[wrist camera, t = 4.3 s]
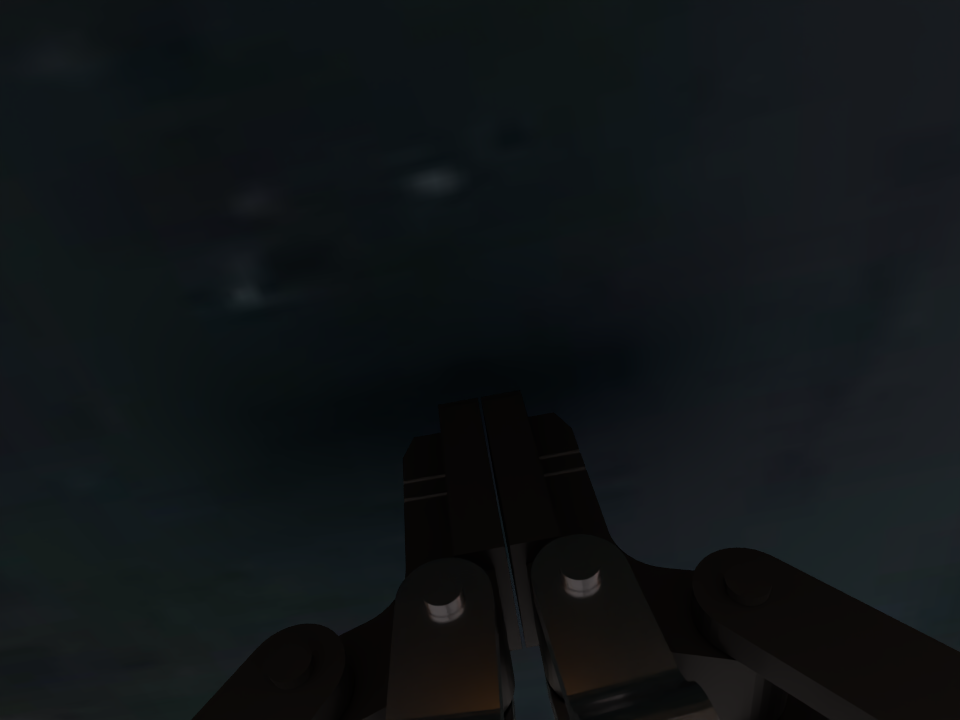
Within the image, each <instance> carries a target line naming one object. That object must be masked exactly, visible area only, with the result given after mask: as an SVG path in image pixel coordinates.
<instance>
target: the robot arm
mask: <svg viewBox="0 0 960 720" xmlns="http://www.w3.org/2000/svg"><path fill="white" fill-rule="evenodd" d="M481 401H482V407H483V413H484V419H485V425H486V431H487V437H488V443H489V449H490V455H491V461H492V467H493V472H494V478H495V484H496V489H497V495H498V500H499V505H500V511H501V516H502V521H503V526H504V532H505V537H506V542H507V548H508V553H509V558H510V564H511V569H512V574H513V580H514V585H515V590H516V595H517V601H518V606H519V611H520V617H521V622H522V627H523V633H524V638H525V643H526V648H527V647H532V646H538V645H539V646H540V651H541V656H542V661H543V666H544V671H545V677H546V684H547V690H548V696H549V699H550V703H551V706H552V710H553V713H554V717H555V720H960V652H959V651H957V650H955V649H953V648H951V647H949V646H947V645H945V644H943V643H941V642H939V641H937V640H935V639H933V638H931V637H929V636H927V635H925V634H923V633H922V632H920V631H918V630H916V629H914V628H912V627H910V626H908V625H906V624H904V623H902V622H900V621H898V620H896V619H894V618H892V617H890V616H888V615H886V614H884V613H882V612H881V611H879V610H877V609H875V608H873V607H871V606H869V605H867V604H865V603H863V602H861V601H859V600H857V599H855V598H853V597H851V596H849V595H847V594H845V593H843V592H841V591H839V590H838V589H836V588H834V587H832V586H830V585H828V584H826V583H824V582H822V581H820V580H818V579H816V578H814V577H812V576H810V575H808V574H806V573H804V572H802V571H800V570H798V569H797V568H795V567H793V566H791V565H789V564H787V563H785V562H783V561H781V560H779V559H777V558H775V557H773V556H771V555H769V554H766V553H764V552H761V551H757V550H754V549H748V548H727V549H722V550H719V551H716V552H714V553H711V554H710V555H708V556H706V557H705V558H704V559H703V560H702V561H701V562H700V563H699V564H698V566H697V567H696V569H695V571H691V570H681V569H670V568H662V567H655V566H651V565H648V564H644V563H642V562H640V561H637V560H635V559H633V558H632V557H630V556H628V555H627V554H626V553H624V552H623V551H622V550H621V549H620V548H619V547H618V546H617V545H616V544H615V542H614V541H613V540H612V538H611V536H610V534H609V531H608V529H607V526H606V523H605V520H604V517H603V515H602V512H601V509H600V506H599V503H598V501H597V498H596V495H595V492H594V490H593V487H592V484H591V481H590V478H589V476H588V473H587V470H586V469H585V464H584V462H583V459H582V456H581V453H580V452H579V448H578V445H577V442H576V439H575V436H574V434H573V431H572V428H571V427H569V426H568V425H567V424H566V423H565V422H564V421H563V420H562V419H560V418H559V417H558V416H557V415H556V414H555V413H548V414H543V415H537V416H532V417H528V416H527V413H526V409H525V406H524V402H523V398H522V395H521V392H520V390H518V391H513V392H507V393H501V394H496V395H490V396H485V397H481ZM438 408H439V418H440V428H441V433H437V434H431V435H426V436H420V437H414V439H413V441H412V442H411V444H410V446H409V448H408V450H407V452H406V454H405V456H404V458H403V479H404V501H405V503H404V517H405V555H406V574H405V579H404V581H403V582H402V584H401V585H400V587H399V589H398V591H397V594H396V598H395V600H394V601H393V602H392V603H391V605H390V606H389V607H388V608H387V609H385V610H384V611H383V612H382V613H381V614H379V615H378V616H377V617H375V618H374V619H372V620H370V621H368V622H366V623H364V624H362V625H360V626H358V627H356V628H354V629H352V630H350V631H348V632H346V633H344V634H342V635H340V636H338V635H337V634H336V633H335V632H333V631H332V630H330V629H329V628H327V627H324V626H322V625H317V624H300V625H295V626H292V627H288V628H286V629H283V630H281V631H279V632H277V633H276V634H274V635H272V636H271V637H269V638H268V639H267V640H265V641H264V642H263V643H262V644H261V645H260V646H259V647H258V648H257V649H256V650H255V651H254V652H253V653H252V654H251V655H250V657H249V658H248V659H247V660H246V661H245V662H244V663H243V664H242V665H241V666H240V667H239V669H238V670H237V671H236V672H235V673H234V674H233V675H232V676H231V677H230V678H229V679H228V681H227V682H226V683H225V684H224V685H223V686H222V687H221V688H220V689H219V690H218V691H217V693H216V694H215V695H214V696H213V697H212V698H211V699H210V700H209V701H208V702H207V703H206V705H205V706H204V707H203V708H202V709H201V710H200V711H199V712H198V713H197V714H196V715H195V717H194V718H193V719H192V720H516V718H515V705H514V698H513V694H514V688H515V681H514V673H513V667H512V661H511V655H510V651H512V650H518V649H522V645H521V639H520V633H519V627H518V621H517V616H516V610H515V604H514V598H513V592H512V586H511V580H510V574H509V568H508V563H507V557H506V551H505V545H504V540H503V534H502V529H501V523H500V518H499V512H498V507H497V502H496V496H495V491H494V485H493V480H492V474H491V469H490V464H489V458H488V453H487V447H486V442H485V436H484V431H483V426H482V420H481V415H480V409H479V404H478V399H477V398H474V399H468V400H463V401H457V402H452V403H446V404H440V405H438Z"/></svg>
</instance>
